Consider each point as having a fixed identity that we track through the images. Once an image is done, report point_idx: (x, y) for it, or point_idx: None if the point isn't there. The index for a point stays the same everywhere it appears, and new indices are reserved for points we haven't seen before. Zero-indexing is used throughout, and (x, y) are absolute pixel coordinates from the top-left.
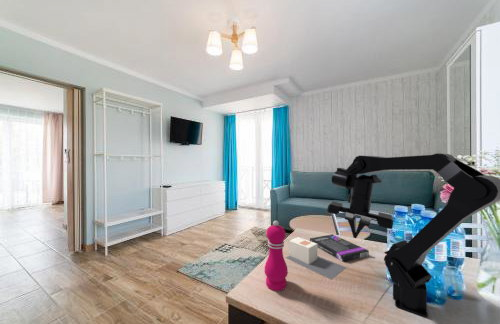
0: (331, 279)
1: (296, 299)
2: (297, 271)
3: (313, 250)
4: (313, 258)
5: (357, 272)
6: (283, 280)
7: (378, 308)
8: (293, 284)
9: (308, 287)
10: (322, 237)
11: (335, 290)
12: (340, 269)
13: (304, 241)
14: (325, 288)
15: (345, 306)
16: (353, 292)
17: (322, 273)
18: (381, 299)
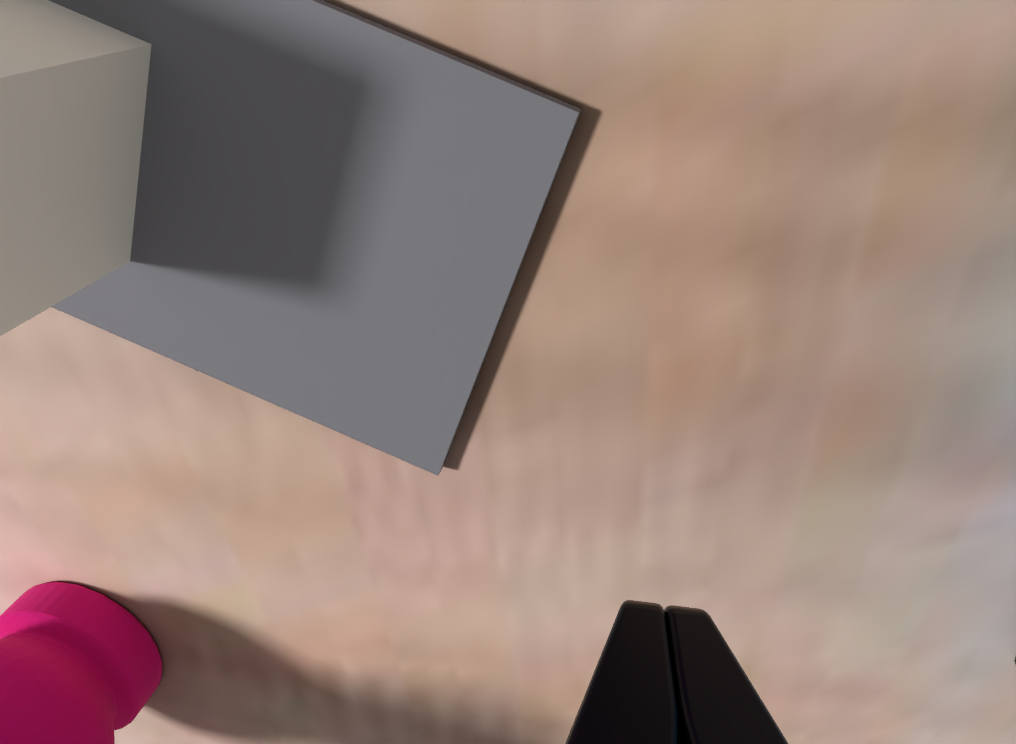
0: (438, 474)
1: (279, 734)
2: (112, 424)
3: (21, 197)
4: (113, 165)
5: (737, 153)
6: (115, 700)
7: (840, 702)
8: (187, 608)
9: (296, 612)
10: None
11: (499, 591)
12: (502, 217)
13: None
14: (418, 588)
15: None
16: (654, 575)
17: (330, 403)
18: (908, 599)
